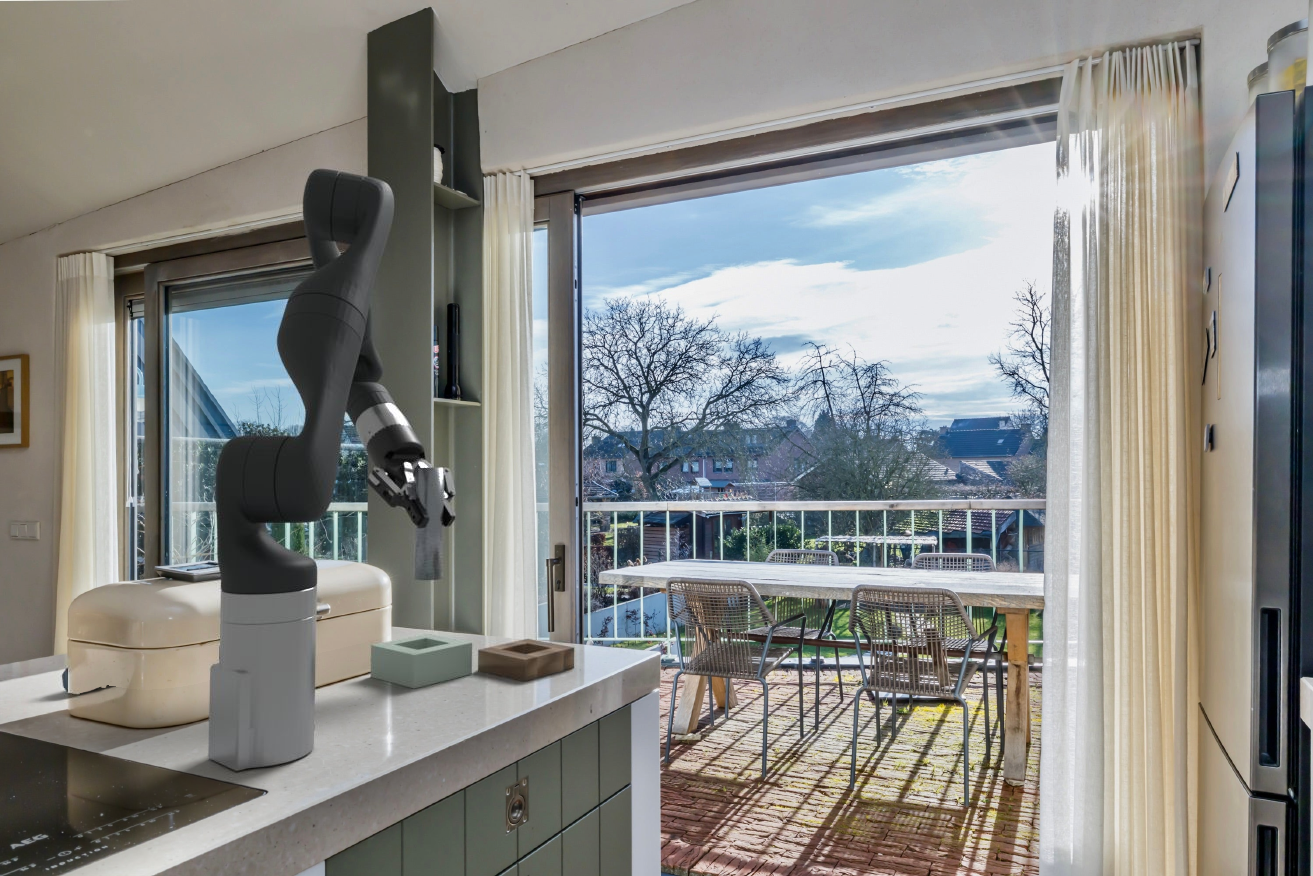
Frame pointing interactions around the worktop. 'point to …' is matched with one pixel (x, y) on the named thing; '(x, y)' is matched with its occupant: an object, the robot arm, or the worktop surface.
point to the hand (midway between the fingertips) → (437, 523)
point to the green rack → (421, 660)
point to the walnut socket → (526, 659)
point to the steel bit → (429, 524)
